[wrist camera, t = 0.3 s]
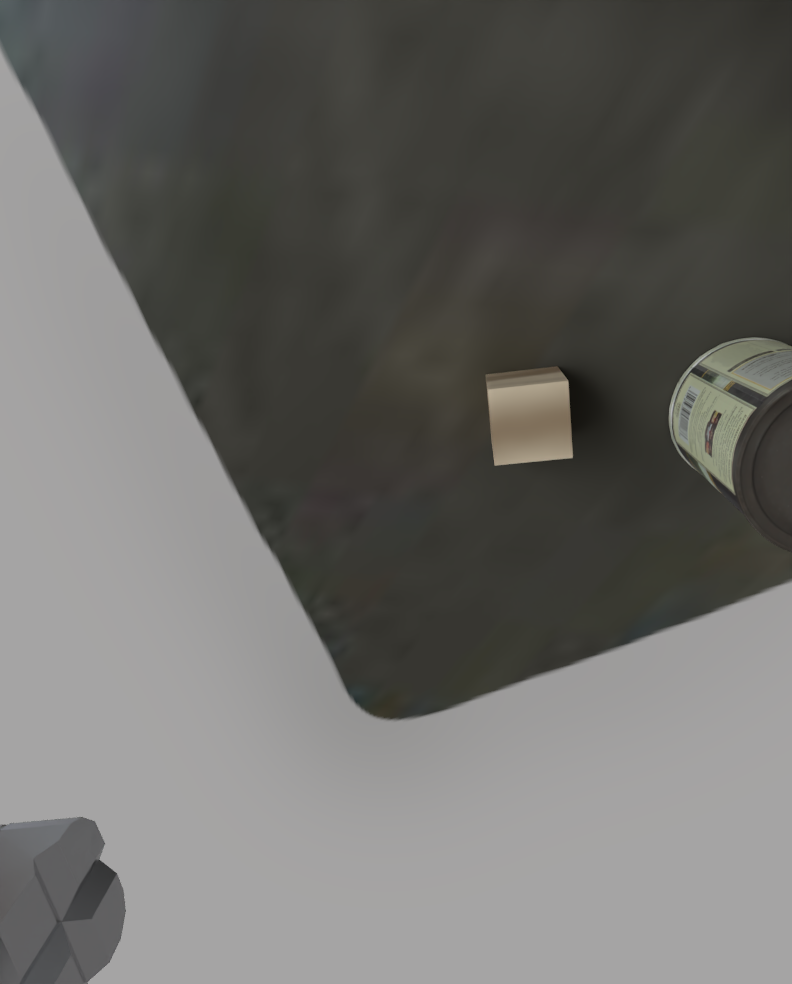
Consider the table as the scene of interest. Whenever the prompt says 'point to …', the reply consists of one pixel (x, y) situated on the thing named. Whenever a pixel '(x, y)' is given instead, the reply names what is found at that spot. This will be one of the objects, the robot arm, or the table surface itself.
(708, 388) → the coffee can
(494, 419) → the beech block
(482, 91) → the table surface
